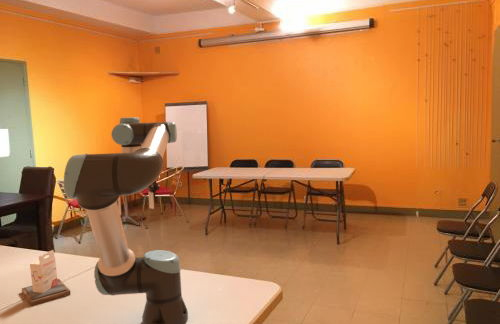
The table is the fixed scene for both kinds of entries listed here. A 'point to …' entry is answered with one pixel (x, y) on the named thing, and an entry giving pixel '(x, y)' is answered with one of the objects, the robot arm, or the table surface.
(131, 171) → the robot arm
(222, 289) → the table surface
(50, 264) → the ink cartridge box
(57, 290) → the walnut stand
